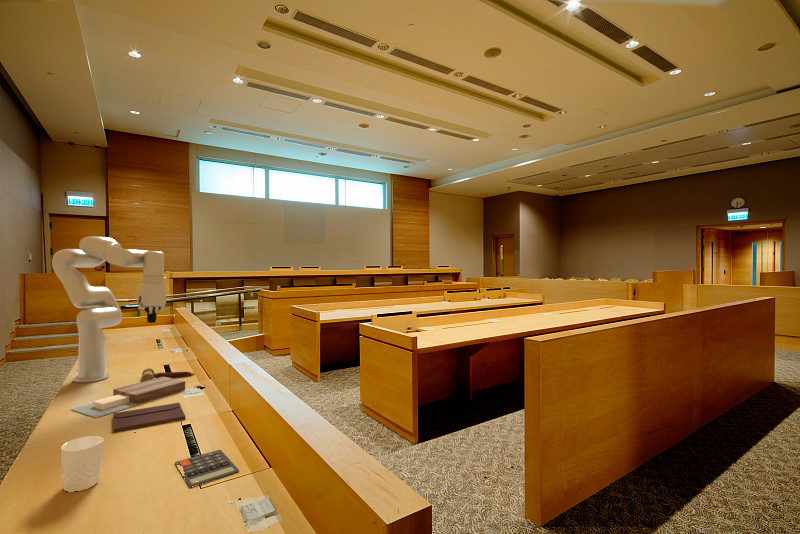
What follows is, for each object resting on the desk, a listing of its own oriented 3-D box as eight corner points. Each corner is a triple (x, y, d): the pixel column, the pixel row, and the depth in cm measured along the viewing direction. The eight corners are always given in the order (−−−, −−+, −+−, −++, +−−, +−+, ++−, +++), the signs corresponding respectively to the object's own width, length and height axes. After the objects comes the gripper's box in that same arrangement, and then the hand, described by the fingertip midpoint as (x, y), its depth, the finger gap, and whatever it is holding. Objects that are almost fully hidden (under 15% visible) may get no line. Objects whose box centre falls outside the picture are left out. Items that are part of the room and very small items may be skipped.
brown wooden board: (113, 398, 151) (113, 389, 151) (163, 384, 170) (163, 376, 170) (135, 404, 146) (136, 395, 146) (185, 389, 164) (185, 381, 164)
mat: (71, 410, 138) (71, 409, 138) (113, 398, 151) (113, 397, 151) (95, 418, 132) (95, 417, 132) (138, 405, 145) (138, 404, 145)
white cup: (76, 476, 97) (77, 435, 97) (110, 475, 98) (111, 435, 98) (50, 494, 89) (52, 451, 89) (87, 494, 90) (88, 450, 90)
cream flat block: (92, 406, 141) (93, 401, 141) (119, 399, 150) (119, 394, 149) (102, 409, 139) (103, 404, 139) (129, 402, 147) (129, 396, 147)
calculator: (220, 448, 112) (239, 469, 101) (220, 452, 112) (239, 473, 101) (174, 461, 104) (189, 485, 93) (174, 464, 104) (189, 489, 93)
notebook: (185, 420, 133) (185, 414, 133) (113, 434, 122) (113, 428, 122) (179, 407, 145) (179, 401, 145) (113, 418, 134) (113, 412, 134)
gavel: (194, 366, 189) (195, 371, 180) (193, 376, 189) (194, 381, 180) (142, 368, 178) (141, 374, 170) (141, 378, 178) (140, 384, 170)
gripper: (165, 279, 176) (163, 319, 176) (129, 279, 163) (127, 323, 163) (175, 280, 173) (173, 321, 173) (140, 280, 160) (138, 325, 160)
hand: (151, 322), depth 168 cm, fingers closed
